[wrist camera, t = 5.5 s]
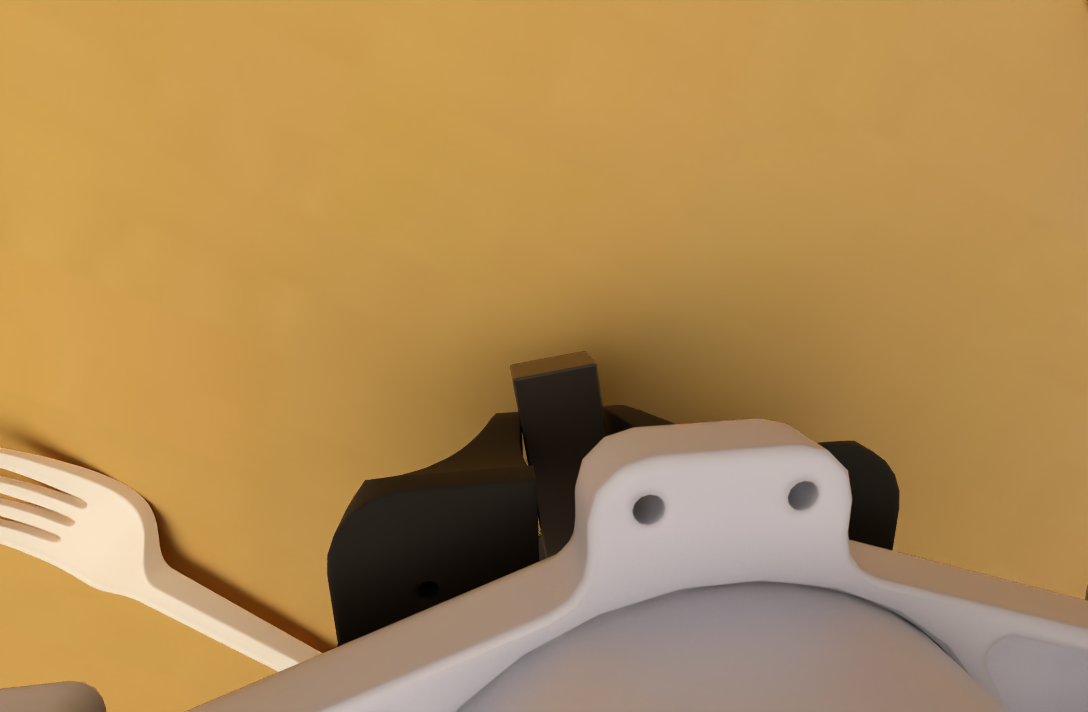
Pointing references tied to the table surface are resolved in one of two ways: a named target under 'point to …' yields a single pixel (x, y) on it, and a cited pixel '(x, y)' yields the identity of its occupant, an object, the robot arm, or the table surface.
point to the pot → (558, 435)
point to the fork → (123, 553)
